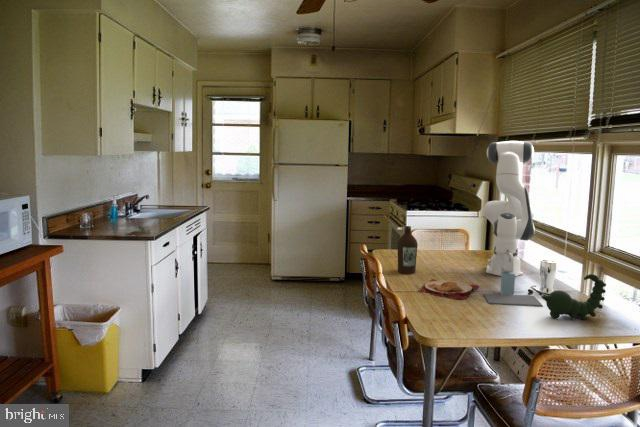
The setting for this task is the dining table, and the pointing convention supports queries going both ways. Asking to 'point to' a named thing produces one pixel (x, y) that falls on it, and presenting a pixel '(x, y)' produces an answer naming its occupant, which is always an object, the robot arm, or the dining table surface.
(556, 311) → the toy figurine
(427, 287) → the plate with food
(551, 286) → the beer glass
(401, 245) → the brown bottle
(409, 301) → the dining table surface
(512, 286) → the slate block
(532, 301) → the charcoal mat
